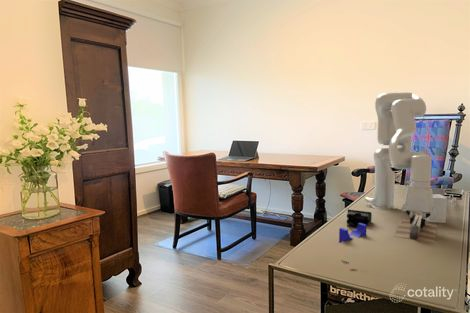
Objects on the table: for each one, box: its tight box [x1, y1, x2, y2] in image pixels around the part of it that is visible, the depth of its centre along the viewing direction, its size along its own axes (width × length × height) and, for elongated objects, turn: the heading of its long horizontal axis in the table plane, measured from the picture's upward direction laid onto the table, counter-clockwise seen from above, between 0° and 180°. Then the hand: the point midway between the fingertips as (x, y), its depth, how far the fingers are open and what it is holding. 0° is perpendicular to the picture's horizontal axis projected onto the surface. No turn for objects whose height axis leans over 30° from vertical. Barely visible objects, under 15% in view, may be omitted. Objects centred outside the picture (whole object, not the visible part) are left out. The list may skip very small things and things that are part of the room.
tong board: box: [393, 218, 439, 244], centre depth 140 cm, size 24×14×6 cm, turn 146°
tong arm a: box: [411, 212, 421, 225], centre depth 142 cm, size 19×2×4 cm, turn 145°
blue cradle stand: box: [338, 223, 368, 244], centre depth 136 cm, size 12×4×6 cm, turn 119°
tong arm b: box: [417, 213, 422, 236], centre depth 141 cm, size 19×2×4 cm, turn 147°
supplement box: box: [425, 193, 448, 223], centre depth 153 cm, size 7×7×13 cm
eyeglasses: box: [443, 194, 457, 208], centre depth 184 cm, size 16×19×5 cm
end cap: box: [346, 208, 373, 229], centre depth 152 cm, size 10×7×7 cm
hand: (417, 226), depth 142 cm, fingers open, 2 cm apart
